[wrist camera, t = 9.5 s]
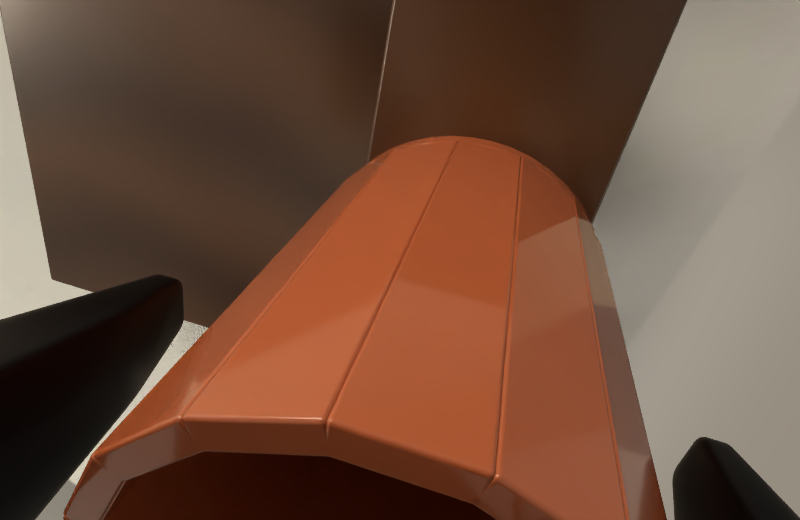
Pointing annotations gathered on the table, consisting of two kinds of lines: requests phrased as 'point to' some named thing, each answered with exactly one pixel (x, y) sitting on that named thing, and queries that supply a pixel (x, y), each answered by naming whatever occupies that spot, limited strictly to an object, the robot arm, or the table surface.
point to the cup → (402, 366)
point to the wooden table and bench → (295, 114)
